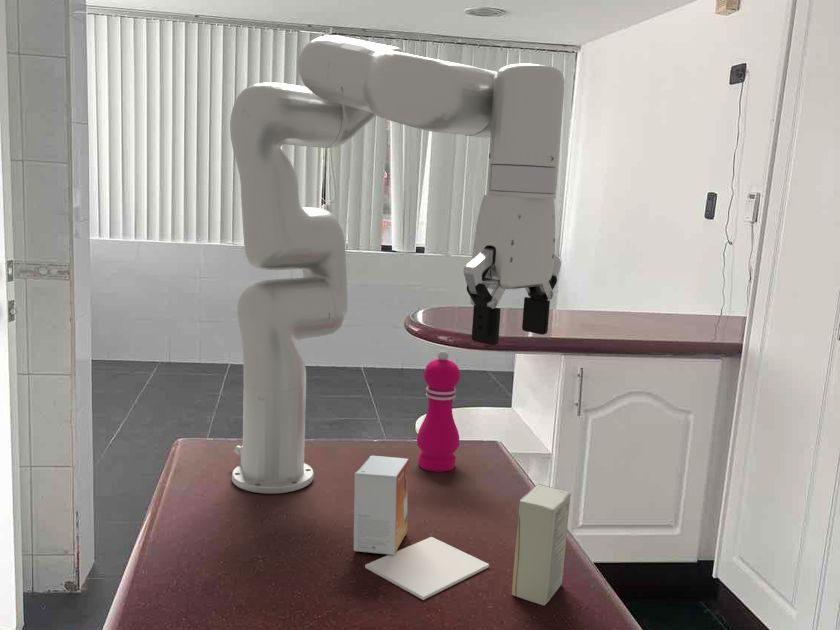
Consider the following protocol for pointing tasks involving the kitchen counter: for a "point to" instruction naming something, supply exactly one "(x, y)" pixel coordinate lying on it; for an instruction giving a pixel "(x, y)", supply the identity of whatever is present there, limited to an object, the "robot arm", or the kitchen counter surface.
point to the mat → (427, 567)
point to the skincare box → (540, 543)
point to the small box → (381, 504)
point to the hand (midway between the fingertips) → (510, 337)
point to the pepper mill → (439, 416)
